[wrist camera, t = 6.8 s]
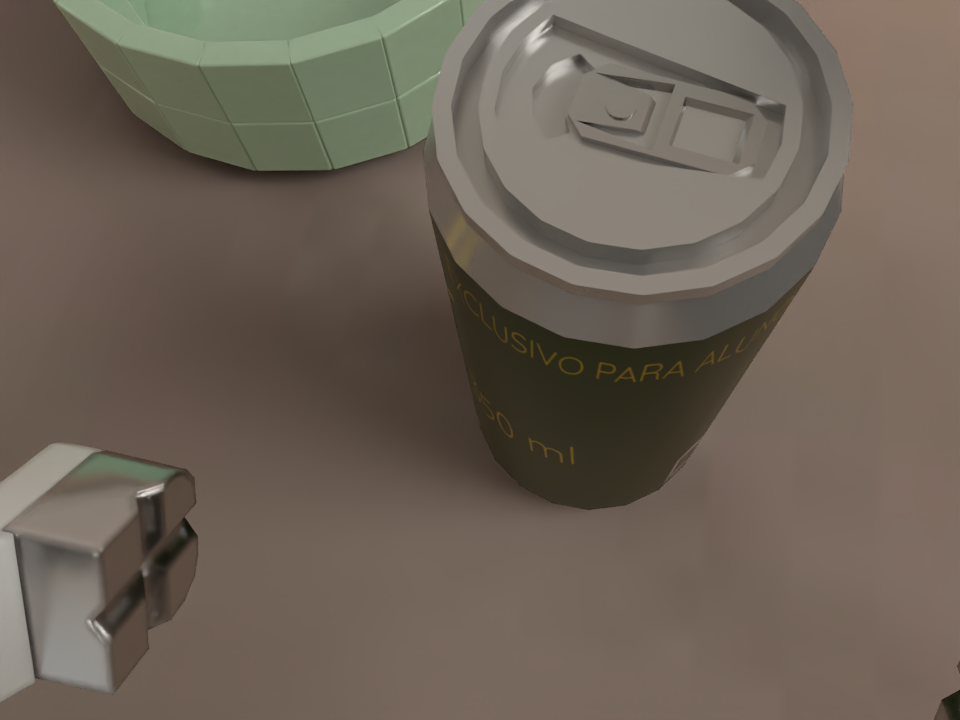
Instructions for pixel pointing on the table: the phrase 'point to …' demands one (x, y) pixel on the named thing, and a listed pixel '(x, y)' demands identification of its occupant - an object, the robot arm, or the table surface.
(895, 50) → the table surface
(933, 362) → the table surface
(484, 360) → the beer can
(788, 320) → the table surface
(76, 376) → the table surface
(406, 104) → the bowl
